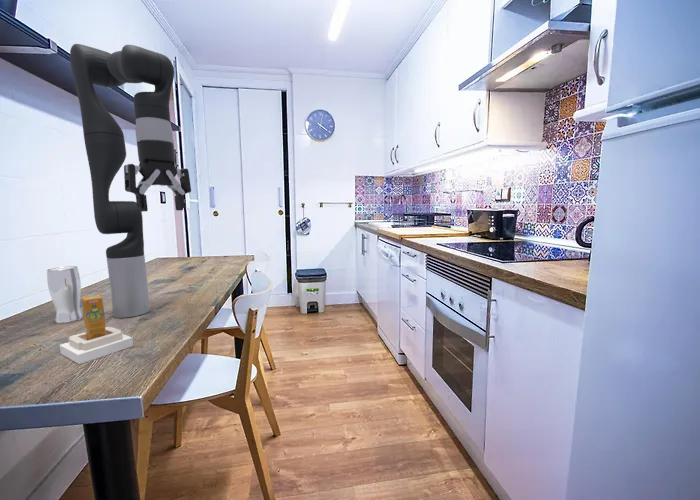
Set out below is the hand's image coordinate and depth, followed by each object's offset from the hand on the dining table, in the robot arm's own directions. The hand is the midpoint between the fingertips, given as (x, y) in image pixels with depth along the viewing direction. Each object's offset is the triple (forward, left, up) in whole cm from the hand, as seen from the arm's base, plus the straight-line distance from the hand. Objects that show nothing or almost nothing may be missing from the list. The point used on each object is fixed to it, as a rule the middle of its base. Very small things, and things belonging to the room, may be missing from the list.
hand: (162, 210), depth 80 cm
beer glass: (-36, -10, -30) cm, 48 cm away
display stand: (-4, -15, -30) cm, 34 cm away
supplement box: (-4, -15, -28) cm, 32 cm away
